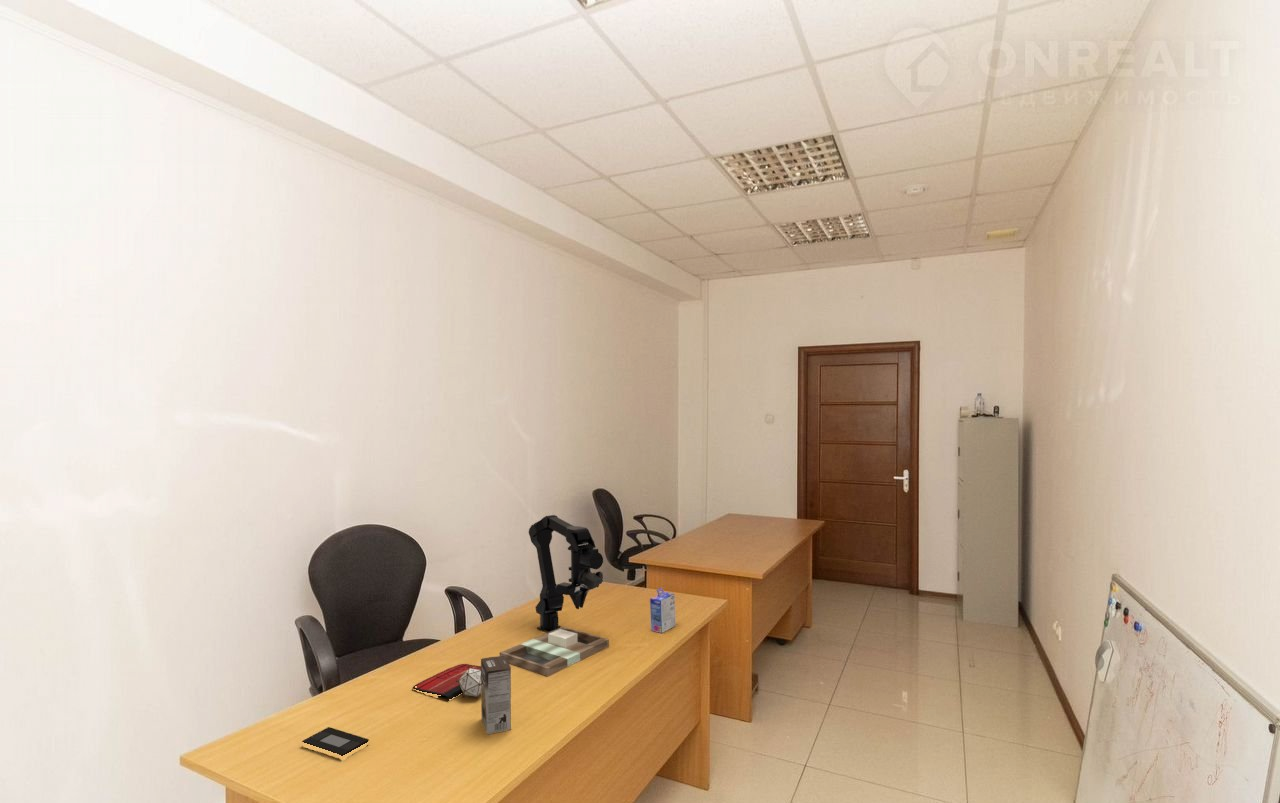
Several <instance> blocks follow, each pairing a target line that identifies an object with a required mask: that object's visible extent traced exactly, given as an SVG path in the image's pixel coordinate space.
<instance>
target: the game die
mask: <svg viewBox="0 0 1280 803" xmlns="http://www.w3.org/2000/svg"><path fill="white" fill-rule="evenodd" d="M468 668H469V669H468V670H467V671H466V672H465V673H464V675H463V676H462V677H461V678H460V679H459V680H456V682H459V684H460V687H461V689H462V691H463V694H462V695H461V697H462V696H464V697H465V696H469V697H473V698H474V697H475V698H476V700H477V699H478V700H479V695H480V694H481V670H479V669H472V668H470V667H469V666H468Z"/></svg>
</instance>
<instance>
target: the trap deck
mask: <svg viewBox="0 0 1280 803" xmlns="http://www.w3.org/2000/svg"><path fill="white" fill-rule="evenodd" d="M559 629H562V630H566V631H570V632H573V633H577V641H578V642H577V643H575V644H573V645H571V646H568V647H566V648H564V647H561V646H558V645H554V644H551V643H548V634H549V633H552V632H554V631H557V630H559ZM607 648H610V639H608V638H605V637H601V636H599V635H595V634H591V633H587V632H584V631H580V630H576V629H573V628H569V627H565V626H561V627H560V628H558V629H556V630H553V631H551V632H546V633H543V634H542V635H538V636H537V637H534V638H532V639H529V640H527V641H524V642H522V643H520V644H517V645H515V646H511V647H508V648H507V649H504V650H502V651H500V652H499V656H505V658H506V660H507V662H508V664H509V665H513V666H517V667H519V668H522V669H525V670H527V671H530V672H533V673H535V674H539V675H542V676H545V677H550V676H551V675H554V674H556V673H557V672H560V671H562V670H563V669H566V668H568V667H570V666H572V665H574V664H577V663H578V662H580V661H582V660H585V659H586V658H589V657H591V656H592V655H595V654H598V653H599V652H601V651H603V650H605V649H607Z"/></svg>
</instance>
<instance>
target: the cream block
mask: <svg viewBox="0 0 1280 803" xmlns="http://www.w3.org/2000/svg"><path fill="white" fill-rule="evenodd" d="M548 633H549V632H548ZM577 642H578V641H577V633H573V632H570V631H566V630H562V629H559V630H557V631H554V632H552V633H549V634H548V643H551V644H554V645H558V646H561V647H564V648H566V647H568V646H571V645H573V644H575V643H577Z"/></svg>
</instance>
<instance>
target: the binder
mask: <svg viewBox="0 0 1280 803" xmlns="http://www.w3.org/2000/svg"><path fill="white" fill-rule="evenodd" d="M468 666H469V667H470V668H472V669H479V670H481V665H476V664H475V665H474V664H469V663H460V664H457V665H454V666H452V667H449V668H447V669H444V670H442V671H440V672H438V673H436V674H434V675H432V676H430V677H428V678H426V679H424V680H422V681H420V682H418V683H416V684H415V685H413V686H412V689H413V688H414V689H416V690H419V691H422V692H427V693H432V694H437V695H441V696H446V697H445V698H447V701H448V700H449V699H452V698H453V697H456V696H458V695H459V694H461V693H463V691H462V689H461V687H460V684H459V682H456V680H459V679H460V678H461V677H462V676H463V675H464V673H465V672H466V671H467V670H468V669H469V668H468ZM415 686H417V688H415ZM458 697H459V696H458ZM456 698H457V697H456Z"/></svg>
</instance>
